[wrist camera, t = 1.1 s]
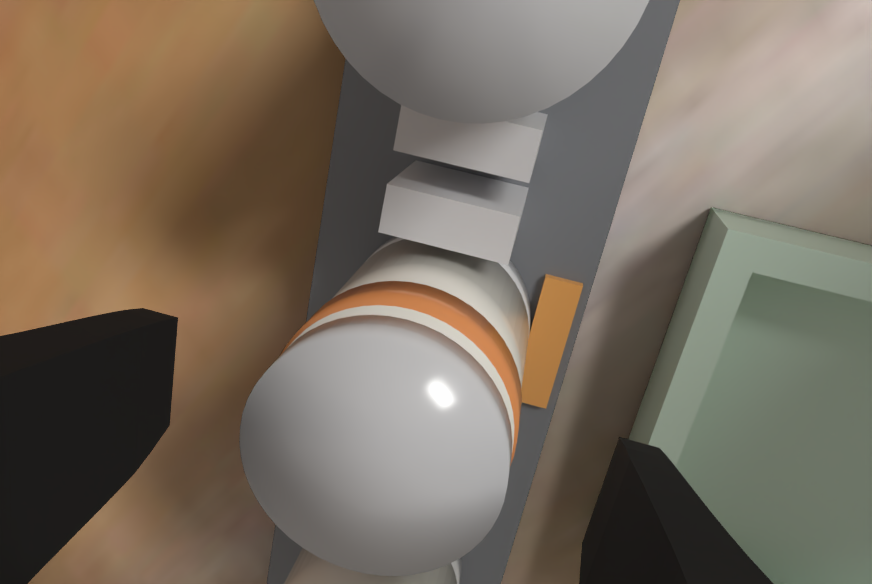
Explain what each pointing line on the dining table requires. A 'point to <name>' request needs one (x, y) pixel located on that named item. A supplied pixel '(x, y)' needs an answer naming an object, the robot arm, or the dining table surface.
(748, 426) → the tray
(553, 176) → the fuse holder
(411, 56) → the fuse
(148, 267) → the dining table surface
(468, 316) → the cylinder
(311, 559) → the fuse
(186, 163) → the dining table surface
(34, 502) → the robot arm
